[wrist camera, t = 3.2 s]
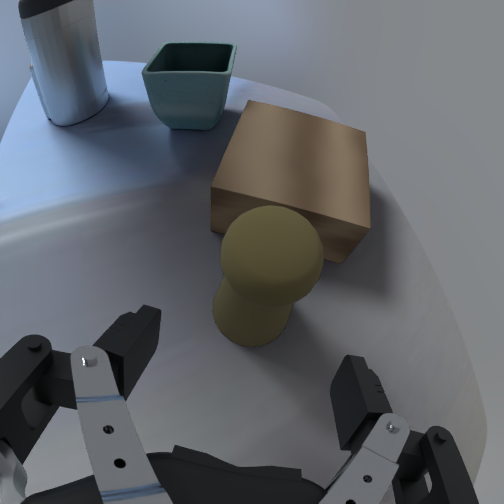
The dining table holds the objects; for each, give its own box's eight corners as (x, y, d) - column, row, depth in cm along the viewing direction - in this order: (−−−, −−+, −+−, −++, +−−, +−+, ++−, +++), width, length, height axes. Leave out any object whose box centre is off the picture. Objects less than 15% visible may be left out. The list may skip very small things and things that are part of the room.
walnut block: (210, 230, 26) (210, 186, 21) (242, 143, 32) (248, 99, 26) (341, 263, 26) (370, 228, 21) (345, 170, 32) (365, 132, 26)
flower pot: (166, 98, 35) (163, 41, 27) (231, 101, 36) (237, 42, 28) (149, 139, 31) (139, 73, 23) (225, 142, 32) (231, 74, 24)
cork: (283, 272, 25) (325, 188, 15) (293, 343, 22) (353, 296, 13) (210, 275, 24) (209, 187, 14) (215, 349, 21) (214, 306, 12)
